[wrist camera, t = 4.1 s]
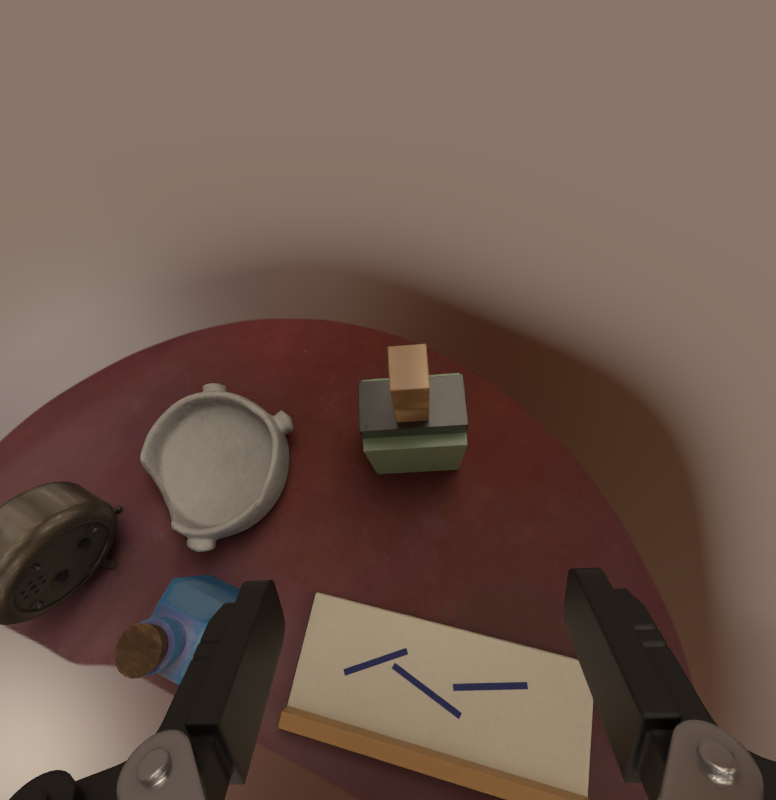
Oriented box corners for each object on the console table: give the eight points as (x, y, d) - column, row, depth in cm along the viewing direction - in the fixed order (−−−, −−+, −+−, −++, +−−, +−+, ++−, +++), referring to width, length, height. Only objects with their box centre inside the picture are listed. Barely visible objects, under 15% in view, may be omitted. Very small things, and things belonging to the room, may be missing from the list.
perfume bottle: (266, 602, 39) (201, 621, 28) (233, 674, 37) (151, 725, 26) (209, 574, 40) (126, 582, 29) (175, 643, 39) (72, 679, 27)
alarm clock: (116, 490, 44) (-46, 455, 29) (156, 515, 43) (8, 493, 28) (44, 592, 41) (-179, 614, 26) (84, 622, 40) (-125, 663, 25)
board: (592, 662, 36) (602, 669, 33) (583, 810, 32) (593, 827, 30) (317, 591, 39) (311, 593, 37) (285, 718, 36) (277, 728, 34)
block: (452, 411, 44) (459, 372, 35) (458, 469, 42) (467, 445, 32) (375, 416, 44) (361, 379, 35) (377, 474, 42) (363, 451, 33)
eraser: (461, 384, 34) (471, 332, 26) (466, 432, 33) (478, 393, 25) (361, 391, 35) (342, 342, 27) (362, 438, 33) (342, 402, 25)
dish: (230, 568, 40) (205, 570, 36) (137, 481, 44) (103, 472, 40) (327, 447, 44) (315, 434, 39) (232, 375, 47) (211, 356, 43)
